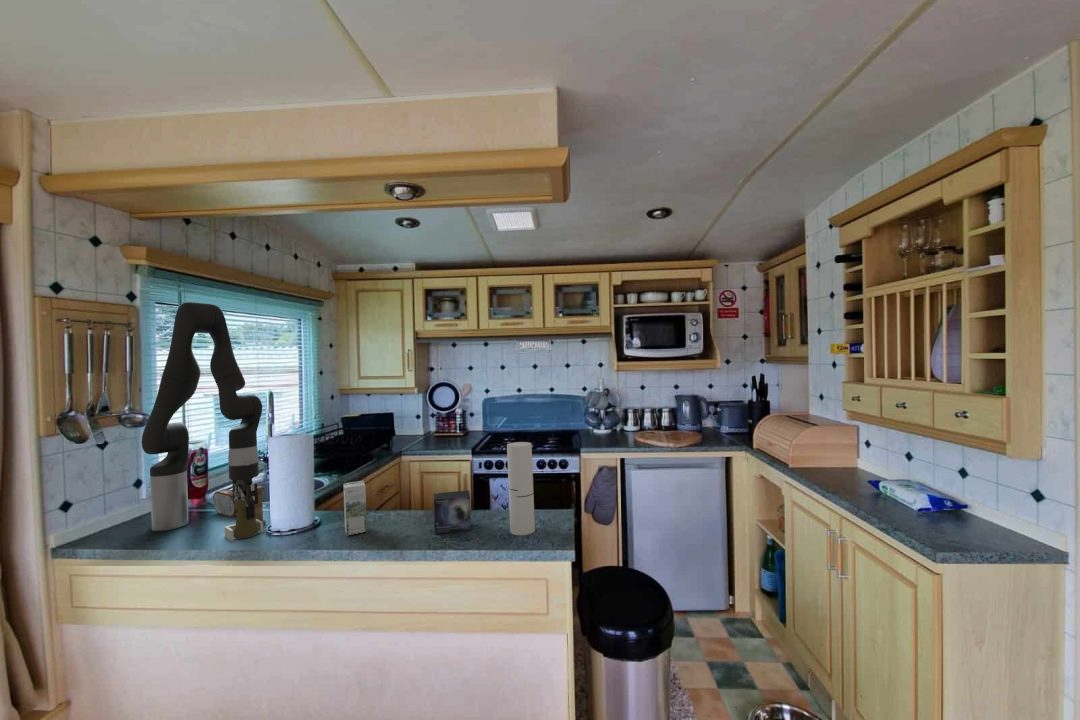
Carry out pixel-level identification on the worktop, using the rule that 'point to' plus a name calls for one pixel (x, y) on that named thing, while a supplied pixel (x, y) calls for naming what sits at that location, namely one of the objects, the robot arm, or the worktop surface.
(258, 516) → the bobbin
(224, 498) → the bread slice
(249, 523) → the cork
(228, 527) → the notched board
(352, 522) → the syrup box
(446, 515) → the small box
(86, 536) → the worktop surface
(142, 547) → the worktop surface
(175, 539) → the worktop surface
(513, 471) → the cylindrical container
